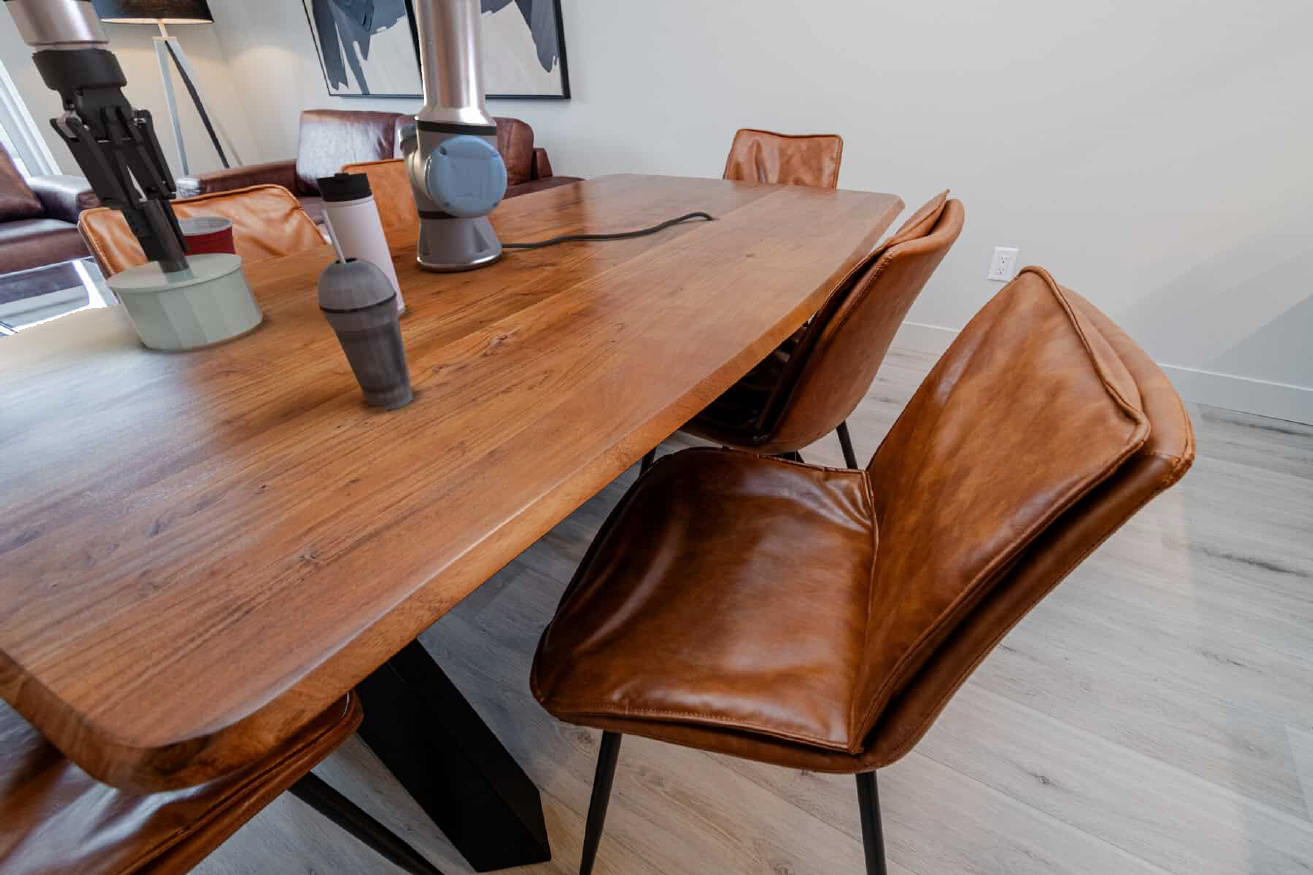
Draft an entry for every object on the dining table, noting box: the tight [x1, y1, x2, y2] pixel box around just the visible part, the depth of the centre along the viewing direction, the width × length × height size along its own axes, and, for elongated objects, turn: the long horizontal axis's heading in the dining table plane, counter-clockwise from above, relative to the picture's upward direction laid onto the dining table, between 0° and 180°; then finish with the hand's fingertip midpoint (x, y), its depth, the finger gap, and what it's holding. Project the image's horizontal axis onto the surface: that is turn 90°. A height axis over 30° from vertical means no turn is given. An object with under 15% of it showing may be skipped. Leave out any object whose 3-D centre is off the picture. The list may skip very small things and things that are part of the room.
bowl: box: [114, 265, 264, 351], centre depth 84 cm, size 15×15×8 cm
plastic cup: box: [177, 215, 237, 256], centre depth 98 cm, size 11×11×12 cm
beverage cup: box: [316, 209, 414, 411], centre depth 61 cm, size 7×7×20 cm
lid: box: [105, 197, 244, 293], centre depth 80 cm, size 16×16×10 cm
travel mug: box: [315, 171, 406, 316], centre depth 83 cm, size 6×7×20 cm
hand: (170, 255), depth 81 cm, fingers closed on lid, 3 cm apart
